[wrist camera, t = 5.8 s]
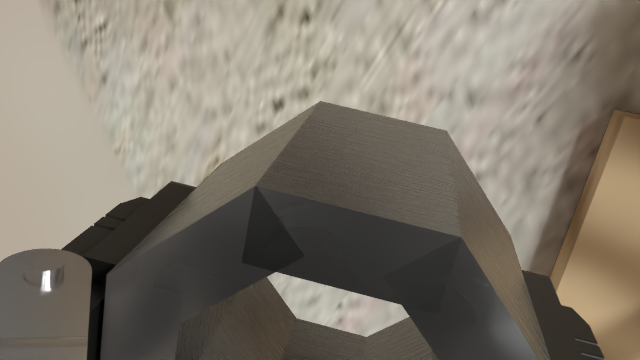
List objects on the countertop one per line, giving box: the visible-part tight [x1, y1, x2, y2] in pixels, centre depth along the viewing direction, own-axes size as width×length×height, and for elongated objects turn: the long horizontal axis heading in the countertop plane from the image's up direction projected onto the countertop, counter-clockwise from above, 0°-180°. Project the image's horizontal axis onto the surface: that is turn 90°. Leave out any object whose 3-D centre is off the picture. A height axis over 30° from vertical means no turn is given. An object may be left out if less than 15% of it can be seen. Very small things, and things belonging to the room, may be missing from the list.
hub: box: [100, 101, 550, 360], centre depth 11 cm, size 6×6×5 cm
